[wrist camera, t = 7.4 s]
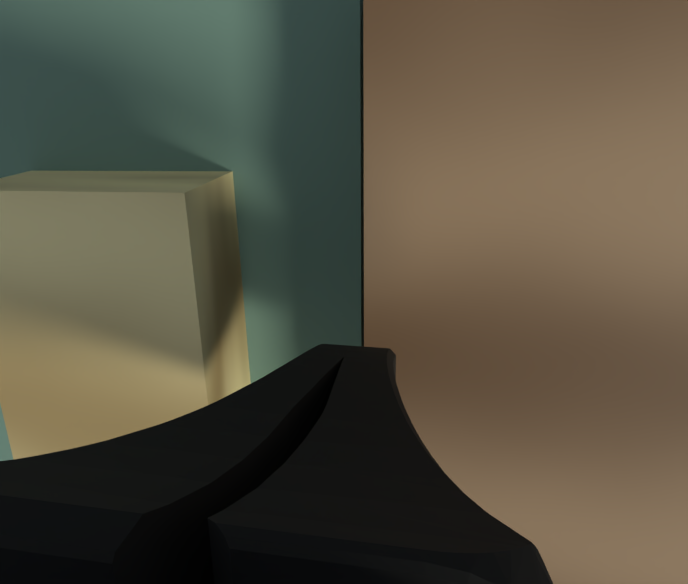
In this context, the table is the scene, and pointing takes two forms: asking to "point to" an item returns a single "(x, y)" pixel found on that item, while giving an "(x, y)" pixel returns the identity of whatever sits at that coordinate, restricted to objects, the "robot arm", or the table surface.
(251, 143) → the green mat
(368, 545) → the robot arm
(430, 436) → the walnut deck
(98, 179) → the ochre tile
